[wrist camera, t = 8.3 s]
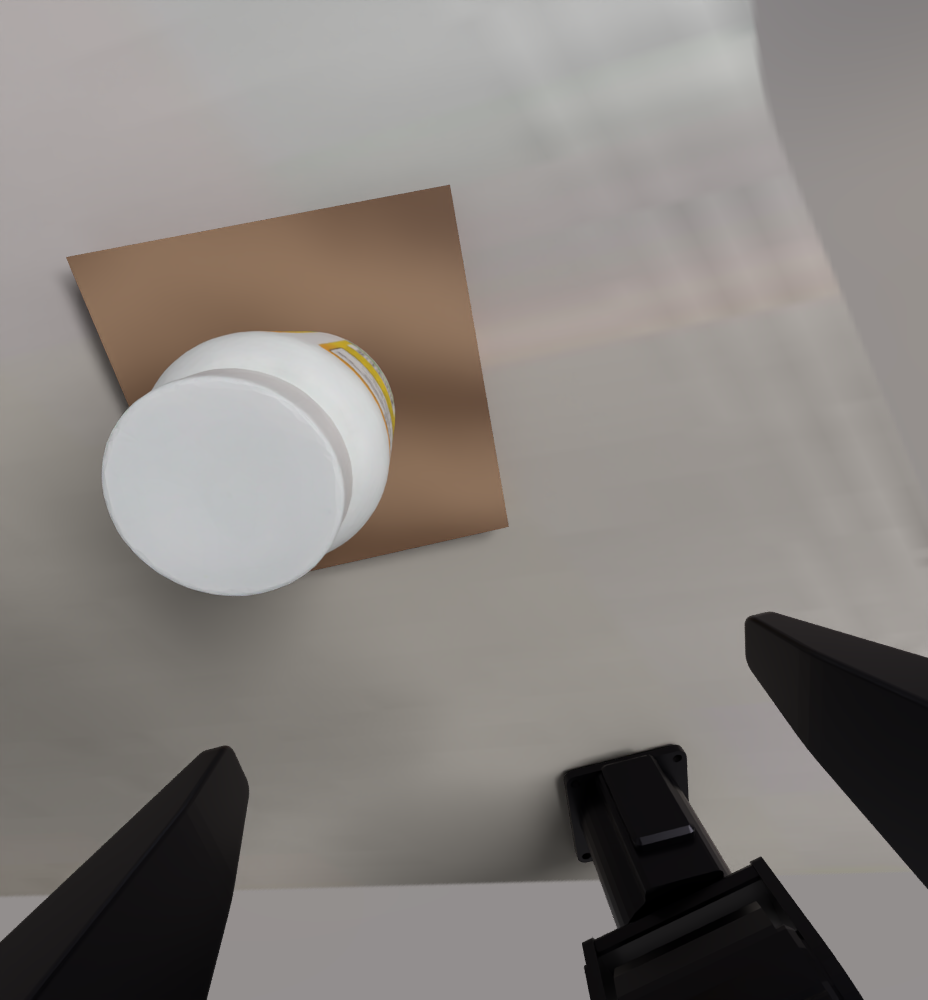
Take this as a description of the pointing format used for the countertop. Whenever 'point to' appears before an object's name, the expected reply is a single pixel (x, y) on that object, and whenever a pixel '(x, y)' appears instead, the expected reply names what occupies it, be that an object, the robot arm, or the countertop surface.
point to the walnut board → (338, 311)
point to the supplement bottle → (251, 459)
